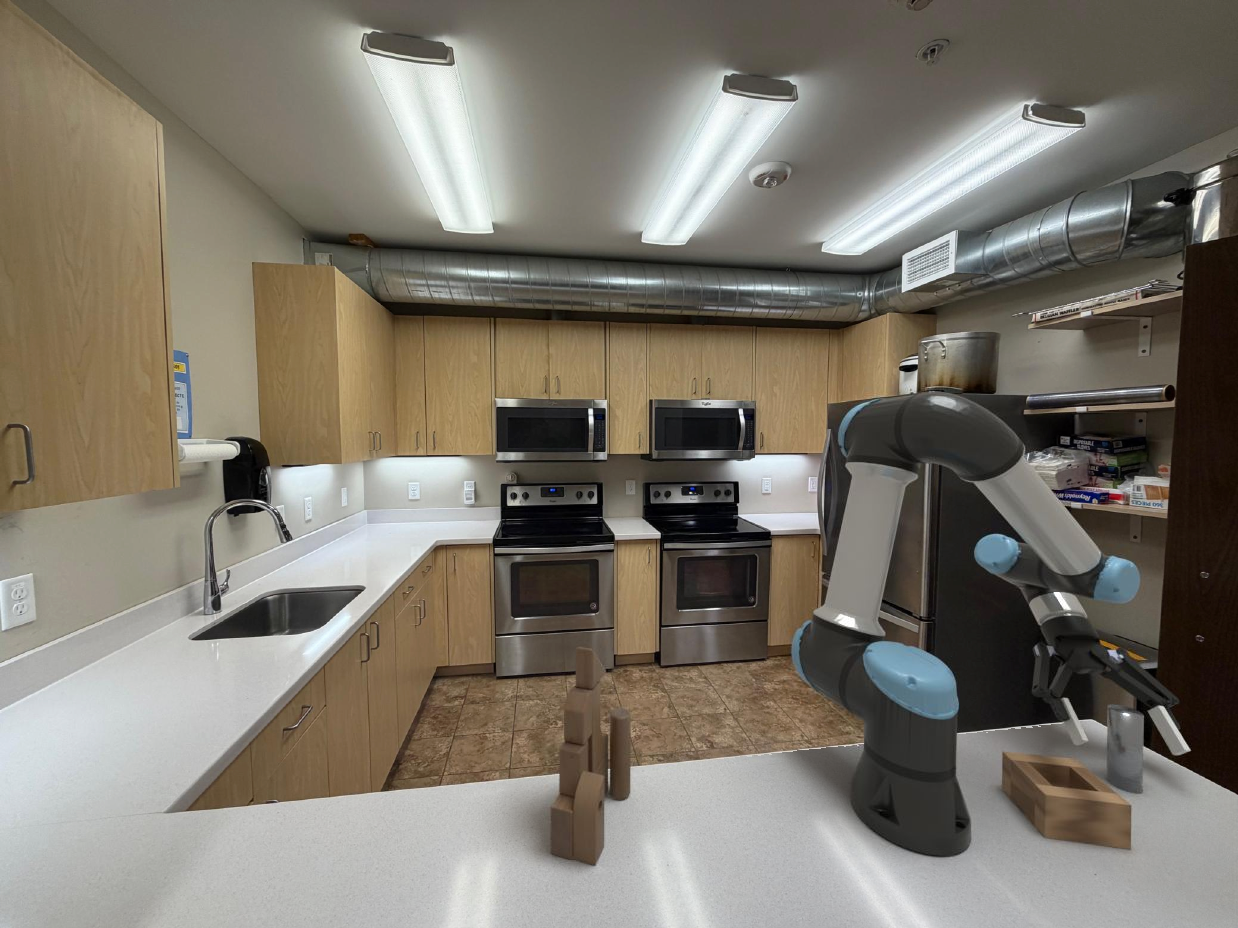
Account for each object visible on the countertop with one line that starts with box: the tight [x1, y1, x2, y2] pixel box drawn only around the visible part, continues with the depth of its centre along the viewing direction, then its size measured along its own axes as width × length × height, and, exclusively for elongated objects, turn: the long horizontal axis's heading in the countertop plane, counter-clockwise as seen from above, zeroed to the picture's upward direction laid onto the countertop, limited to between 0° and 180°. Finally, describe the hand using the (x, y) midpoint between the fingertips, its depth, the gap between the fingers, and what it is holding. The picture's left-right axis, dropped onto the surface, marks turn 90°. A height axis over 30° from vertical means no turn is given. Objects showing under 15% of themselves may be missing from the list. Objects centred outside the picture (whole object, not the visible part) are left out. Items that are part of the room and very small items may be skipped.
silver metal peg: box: [1106, 704, 1145, 794], centre depth 77 cm, size 4×4×12 cm
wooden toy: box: [550, 646, 632, 866], centre depth 69 cm, size 15×7×25 cm, turn 161°
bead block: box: [1001, 751, 1133, 850], centre depth 70 cm, size 10×10×6 cm
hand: (1130, 747), depth 76 cm, fingers open, 13 cm apart
